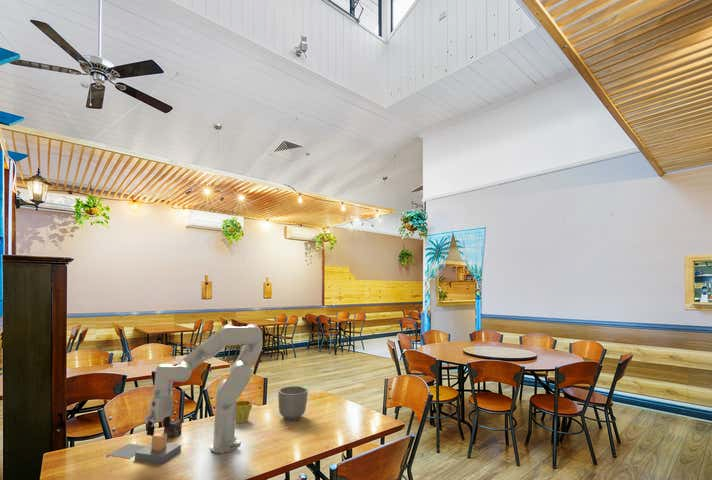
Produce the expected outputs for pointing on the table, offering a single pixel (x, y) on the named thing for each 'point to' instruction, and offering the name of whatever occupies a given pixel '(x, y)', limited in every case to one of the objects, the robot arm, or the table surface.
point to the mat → (126, 451)
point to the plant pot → (242, 411)
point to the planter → (292, 402)
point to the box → (173, 428)
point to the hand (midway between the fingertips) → (158, 431)
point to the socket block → (157, 453)
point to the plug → (159, 441)
